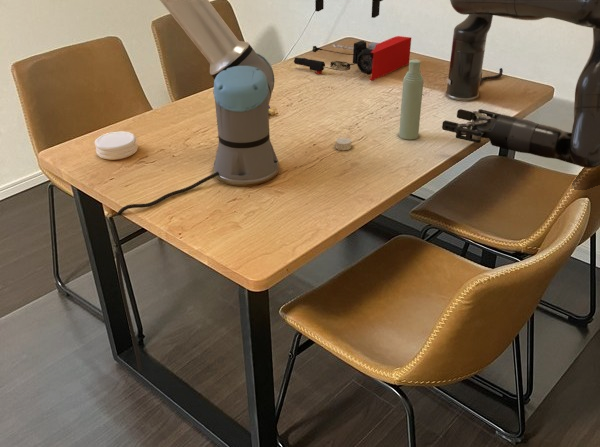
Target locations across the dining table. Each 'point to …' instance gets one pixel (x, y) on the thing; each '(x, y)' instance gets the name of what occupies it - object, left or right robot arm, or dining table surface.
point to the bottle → (411, 101)
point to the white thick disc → (116, 145)
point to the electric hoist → (369, 57)
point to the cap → (343, 143)
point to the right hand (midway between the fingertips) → (450, 118)
